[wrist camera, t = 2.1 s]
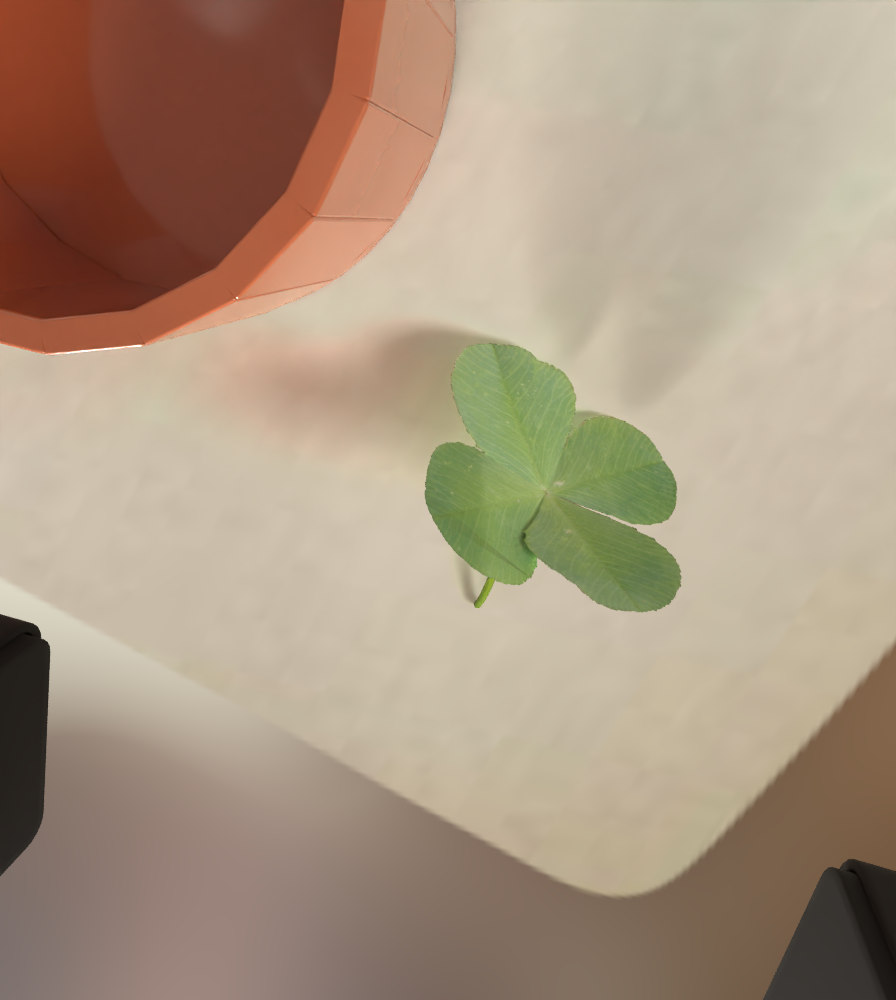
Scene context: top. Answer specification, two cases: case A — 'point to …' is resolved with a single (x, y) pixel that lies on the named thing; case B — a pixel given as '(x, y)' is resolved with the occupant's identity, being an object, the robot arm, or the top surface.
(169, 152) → the planter
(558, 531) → the green leafy piece
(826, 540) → the top surface
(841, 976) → the robot arm
